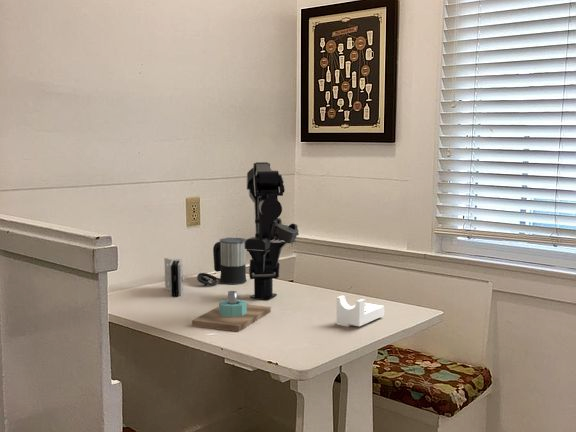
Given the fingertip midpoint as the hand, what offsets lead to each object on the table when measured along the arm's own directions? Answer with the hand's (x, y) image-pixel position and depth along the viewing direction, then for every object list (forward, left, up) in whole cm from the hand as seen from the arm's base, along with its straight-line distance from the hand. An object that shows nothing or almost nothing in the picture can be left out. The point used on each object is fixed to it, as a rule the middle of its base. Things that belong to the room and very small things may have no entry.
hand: (268, 269), depth 185 cm
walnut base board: (+11, -6, -12) cm, 17 cm away
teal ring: (+11, -6, -10) cm, 16 cm away
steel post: (+11, -6, -12) cm, 17 cm away
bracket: (0, +27, -12) cm, 30 cm away
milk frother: (-27, -29, -12) cm, 41 cm away
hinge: (-10, -38, -12) cm, 41 cm away
